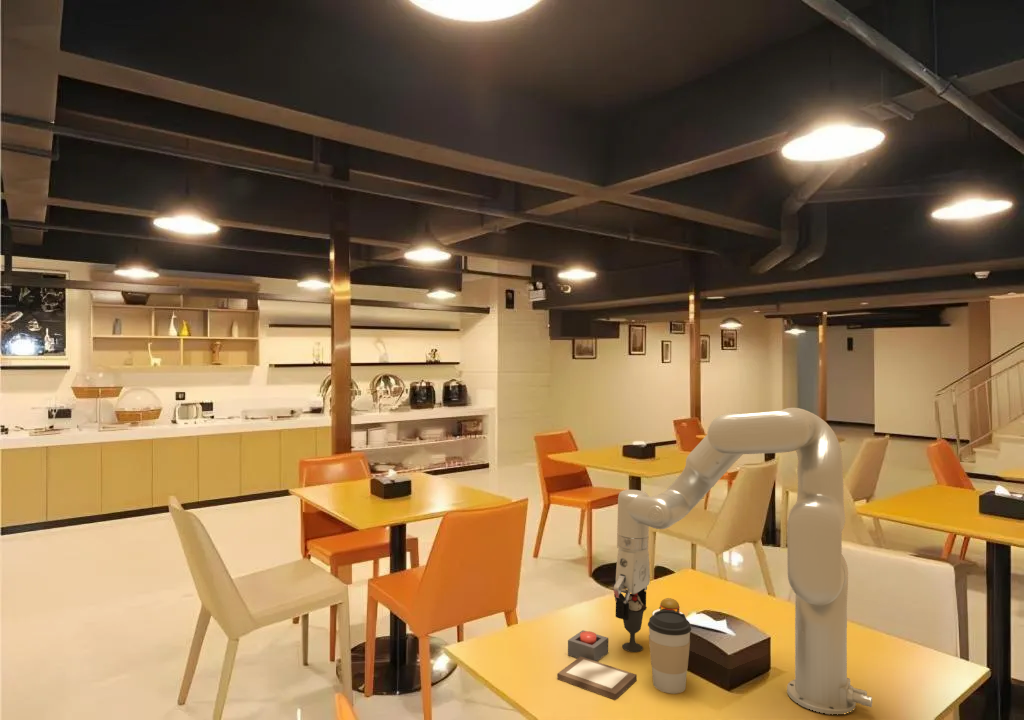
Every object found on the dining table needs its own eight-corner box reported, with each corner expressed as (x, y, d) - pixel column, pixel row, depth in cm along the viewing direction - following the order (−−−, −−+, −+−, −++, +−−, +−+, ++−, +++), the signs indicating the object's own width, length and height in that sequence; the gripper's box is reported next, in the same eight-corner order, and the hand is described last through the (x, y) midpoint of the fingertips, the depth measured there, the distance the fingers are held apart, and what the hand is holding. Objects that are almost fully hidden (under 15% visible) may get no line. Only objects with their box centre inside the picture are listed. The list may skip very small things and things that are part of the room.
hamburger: (639, 612, 172) (639, 592, 172) (677, 608, 174) (678, 589, 174) (659, 630, 160) (659, 609, 160) (700, 626, 163) (700, 605, 163)
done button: (599, 642, 145) (599, 634, 145) (591, 648, 142) (591, 639, 142) (585, 638, 147) (585, 629, 147) (577, 643, 144) (577, 635, 144)
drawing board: (636, 680, 132) (636, 673, 132) (615, 700, 124) (615, 693, 124) (580, 661, 141) (580, 655, 141) (557, 678, 133) (557, 672, 133)
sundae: (639, 656, 143) (639, 592, 144) (613, 648, 147) (614, 586, 148) (651, 646, 149) (651, 584, 149) (626, 639, 153) (626, 578, 153)
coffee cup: (649, 694, 127) (649, 621, 127) (645, 673, 136) (646, 605, 136) (694, 697, 125) (694, 624, 126) (687, 676, 134) (687, 607, 135)
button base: (608, 652, 145) (608, 637, 145) (594, 663, 140) (594, 648, 140) (582, 644, 149) (582, 630, 150) (567, 655, 144) (567, 640, 144)
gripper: (631, 553, 139) (629, 628, 139) (661, 537, 153) (659, 605, 153) (602, 546, 144) (600, 619, 144) (633, 531, 158) (632, 598, 158)
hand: (631, 612), depth 148 cm, fingers open, 9 cm apart
